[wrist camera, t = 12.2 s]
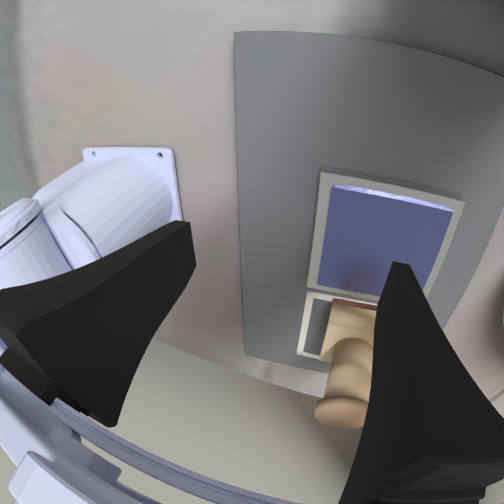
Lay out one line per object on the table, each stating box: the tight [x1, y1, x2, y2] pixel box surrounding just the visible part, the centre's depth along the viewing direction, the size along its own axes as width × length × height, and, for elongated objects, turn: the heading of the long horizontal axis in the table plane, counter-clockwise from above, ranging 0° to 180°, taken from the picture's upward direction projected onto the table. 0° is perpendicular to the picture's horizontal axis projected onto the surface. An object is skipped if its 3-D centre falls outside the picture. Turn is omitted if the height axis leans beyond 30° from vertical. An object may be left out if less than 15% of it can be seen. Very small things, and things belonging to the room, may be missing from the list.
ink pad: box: [307, 165, 465, 301], centre depth 19 cm, size 9×9×2 cm
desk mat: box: [234, 31, 504, 381], centre depth 22 cm, size 18×30×1 cm, turn 0°
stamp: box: [314, 298, 377, 428], centre depth 22 cm, size 5×5×9 cm
